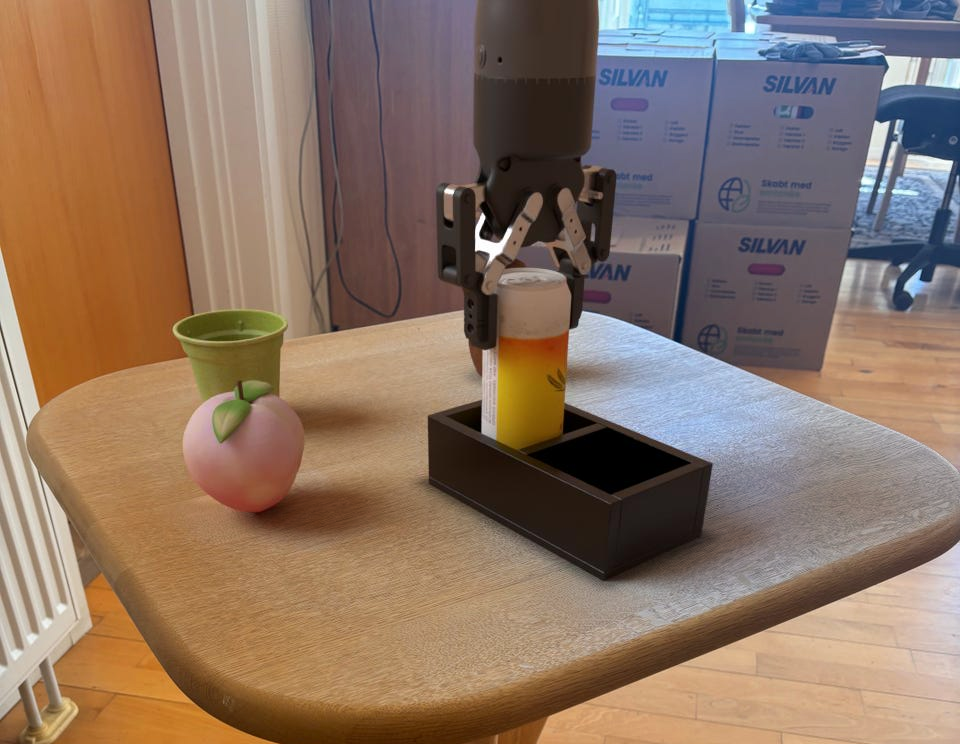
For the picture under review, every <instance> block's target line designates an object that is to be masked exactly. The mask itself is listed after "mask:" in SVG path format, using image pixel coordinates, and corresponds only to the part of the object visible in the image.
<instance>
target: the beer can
mask: <svg viewBox="0 0 960 744" xmlns="http://www.w3.org/2000/svg"><path fill="white" fill-rule="evenodd" d="M556 271H557V270H556ZM556 271H555V270H551V269H547V268H538V267H527V268H510V269H504V272H503V274H502V276H501V278H500V280H499V283H498V285H497V287H496V289H495V291H494V292H493V293H495V294H497V339H496V347H495V348H493V349H489V350H483V363H482V377H481V380H482V381H481V400H482V434H484V435H486V436H488V437H490V438H492V439H495V440H497V441H499V442H501V443H503V444H505V445H507V446H509V447H511V448H513V449H516V450H518V449H521V448H524V447H527V446H530V445H534V444H537V443H540V442H543V441H546V440H549V439H552V438H555V437H558V436H561V435H563V420H564V404H565V403H566V401H565V400H566V387H567V386H566V385H567V369H568V356H569V355H568V354H569V340H570V339H569V338H570V330H569V324H570V309H571V293H570V290H569V288H568V285H567V283H566V276H565V275H563V274H561V273H559V272H556Z"/></svg>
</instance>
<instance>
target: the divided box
mask: <svg viewBox="0 0 960 744" xmlns="http://www.w3.org/2000/svg"><path fill="white" fill-rule="evenodd" d="M427 451H428V453H427V455H428V456H427V458H428V459H427V460H428V462H427V463H428V464H427V465H428V485H430V486H431V487H433V488H435V489H437V490H438V491H440V492H442V493H444V494H446V495H447V496H449V497H451V498H453V499H455V500H456V501H458V502H460V503H462V504H464V505H466V506H467V507H469V508H471V509H473V510H474V511H476V512H478V513H480V514H481V515H484V516H485V517H487V518H489V519H491V520H493V521H494V522H496V523H498V524H499V525H501V526H503V527H505V528H507V529H509V530H510V531H512V532H514V533H516V534H518V535H519V536H521V537H523V538H524V539H526V540H528V541H530V542H532V543H534V544H536V545H537V546H539V547H541V548H543V549H544V550H546V551H548V552H550V553H552V554H554V555H555V556H556V557H559V558H561V559H562V560H564V561H566V562H568V563H569V564H571V565H574V566H575V567H577V568H579V569H580V570H582V571H584V572H586V573H587V574H590V575H591V576H593V577H595V578H597V579H598V580H601V581H603V582H605V581H608V580H610V579H612V578H614V577H616V576H618V575H621V574H623V573H625V572H627V571H629V570H632V569H633V568H636V567H638V566H640V565H643V564H645V563H647V562H649V561H651V560H653V559H655V558H657V557H660V556H662V555H665V554H666V553H668V552H671V551H673V550H675V549H677V548H681V547H682V546H684V545H687V544H688V543H690V542H693V541H695V540H697V539H699V538H702V533H703V527H704V521H705V515H706V510H707V504H708V503H707V502H708V497H709V491H710V484H711V479H712V471H713V465H714V463H713V462H710V461H708V460H706V459H703V458H700V457H698V456H695V455H693V454H691V453H688V452H687V451H683V450H681V449H679V448H677V447H675V446H672V445H669V444H666V443H664V442H662V441H659V440H657V439H654V438H651V437H649V436H647V435H645V434H642V433H640V432H637V431H635V430H632V429H630V428H627V427H625V426H623V425H620V424H617V423H615V422H613V421H611V420H608V419H606V418H603V417H601V416H599V415H596V414H594V413H591V412H588V411H586V410H584V409H581V408H579V407H577V406H574V405H571V404H568V403H566V402H565V404H564V420H563V435H561V436H558V437H555V438H552V439H549V440H546V441H543V442H540V443H537V444H534V445H530V446H527V447H524V448H521V449H518V450H516V449H513V448H511V447H509V446H507V445H505V444H503V443H501V442H499V441H497V440H495V439H492V438H490V437H488V436H486V435H484V434H482V399H480V400H476V401H473V402H468V403H466V404H462V405H459V406H455V407H451V408H448V409H445V410H441V411H438V412H434V413H431V414H428V415H427Z"/></svg>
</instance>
